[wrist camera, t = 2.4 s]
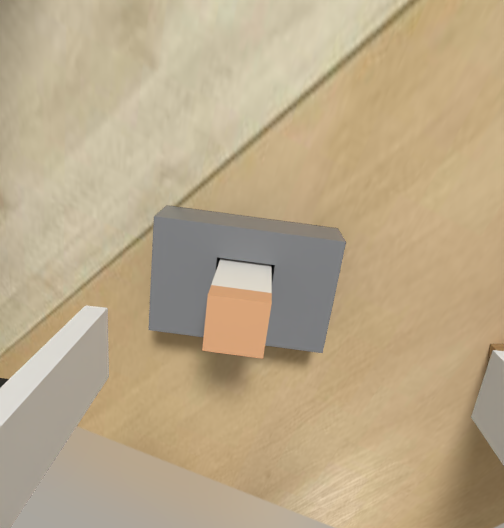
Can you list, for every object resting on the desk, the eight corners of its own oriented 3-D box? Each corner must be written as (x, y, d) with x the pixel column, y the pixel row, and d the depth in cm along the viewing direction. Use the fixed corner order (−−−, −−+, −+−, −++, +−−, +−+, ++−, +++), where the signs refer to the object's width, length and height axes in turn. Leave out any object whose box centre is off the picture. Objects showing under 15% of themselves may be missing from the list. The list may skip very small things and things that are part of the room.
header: (160, 308, 47) (148, 329, 43) (166, 205, 43) (154, 216, 39) (317, 329, 47) (322, 352, 43) (337, 228, 43) (346, 241, 39)
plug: (219, 292, 45) (202, 350, 34) (224, 248, 44) (207, 294, 32) (264, 298, 45) (263, 358, 34) (271, 254, 44) (271, 303, 32)
